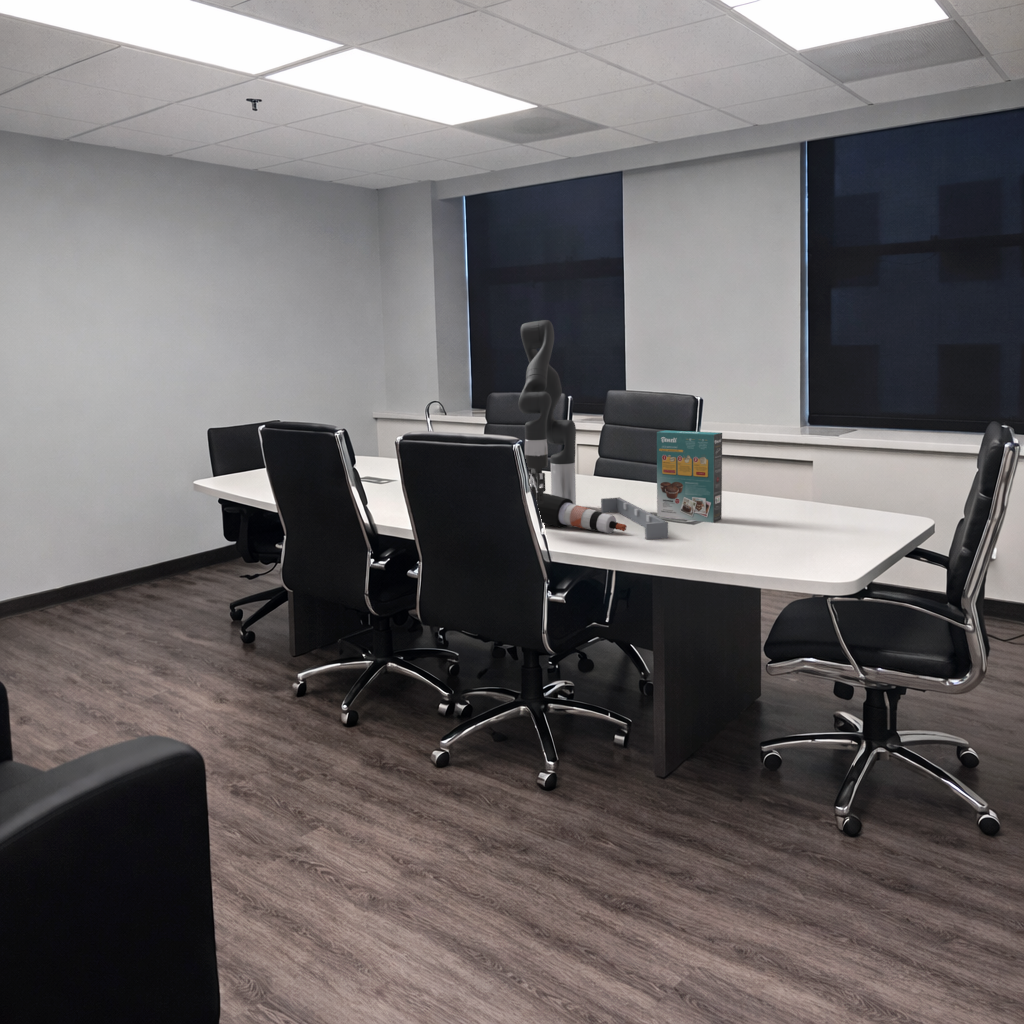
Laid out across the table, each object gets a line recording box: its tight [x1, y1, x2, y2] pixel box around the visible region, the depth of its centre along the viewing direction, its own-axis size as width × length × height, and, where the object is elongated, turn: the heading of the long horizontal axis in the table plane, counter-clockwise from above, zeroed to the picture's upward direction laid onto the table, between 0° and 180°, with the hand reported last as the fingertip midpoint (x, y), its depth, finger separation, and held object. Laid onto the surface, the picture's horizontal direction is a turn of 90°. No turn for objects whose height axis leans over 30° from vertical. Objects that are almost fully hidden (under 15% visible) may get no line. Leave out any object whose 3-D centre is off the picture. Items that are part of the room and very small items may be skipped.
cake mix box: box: [656, 430, 723, 523], centre depth 319 cm, size 22×6×30 cm, turn 51°
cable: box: [538, 492, 627, 534], centre depth 309 cm, size 10×34×10 cm, turn 50°
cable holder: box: [600, 497, 669, 540], centre depth 315 cm, size 50×7×5 cm, turn 11°
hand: (537, 501), depth 305 cm, fingers open, 8 cm apart
